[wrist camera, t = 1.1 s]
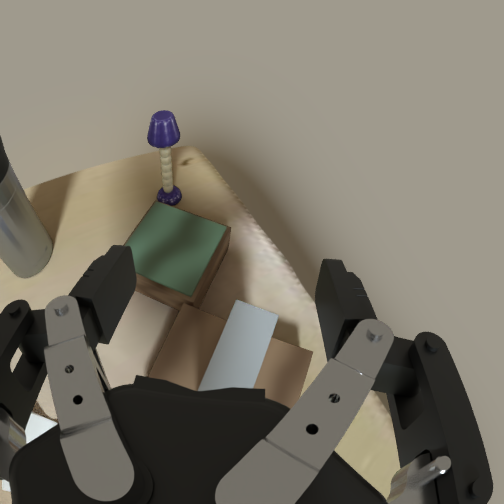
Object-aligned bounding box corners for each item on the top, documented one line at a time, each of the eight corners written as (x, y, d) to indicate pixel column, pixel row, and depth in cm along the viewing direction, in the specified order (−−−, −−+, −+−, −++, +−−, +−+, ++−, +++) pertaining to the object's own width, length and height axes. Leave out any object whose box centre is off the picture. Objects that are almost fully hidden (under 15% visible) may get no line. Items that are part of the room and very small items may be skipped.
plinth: (119, 282, 39) (109, 262, 34) (159, 221, 45) (155, 198, 41) (194, 317, 38) (193, 300, 33) (228, 247, 44) (231, 225, 40)
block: (196, 411, 27) (190, 407, 18) (227, 338, 32) (236, 299, 23) (228, 423, 26) (238, 425, 17) (256, 349, 31) (278, 315, 22)
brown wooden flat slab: (145, 405, 30) (135, 402, 26) (186, 317, 37) (183, 302, 33) (269, 453, 29) (278, 457, 25) (300, 360, 36) (313, 351, 32)
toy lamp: (187, 202, 48) (185, 117, 34) (162, 213, 46) (151, 127, 32) (175, 185, 50) (171, 102, 36) (151, 195, 48) (140, 111, 34)
